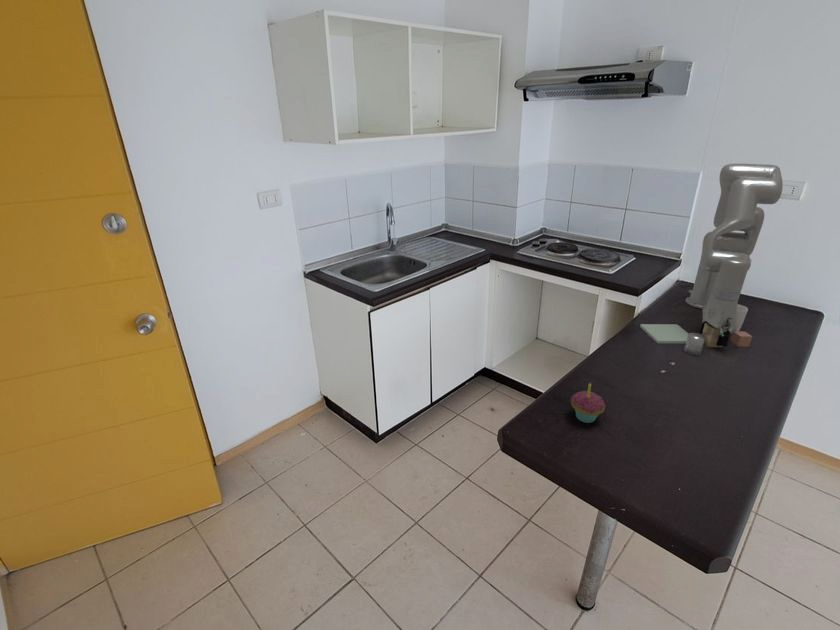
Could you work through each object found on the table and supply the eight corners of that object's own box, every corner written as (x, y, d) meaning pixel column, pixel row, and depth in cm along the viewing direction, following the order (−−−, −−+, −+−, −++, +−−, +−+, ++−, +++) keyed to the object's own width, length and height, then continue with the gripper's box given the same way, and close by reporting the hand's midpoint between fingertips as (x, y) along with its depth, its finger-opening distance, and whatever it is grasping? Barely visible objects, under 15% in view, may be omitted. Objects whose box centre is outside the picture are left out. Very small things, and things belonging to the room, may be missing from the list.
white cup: (717, 334, 163) (724, 309, 159) (713, 325, 170) (720, 301, 166) (742, 337, 161) (750, 312, 157) (737, 329, 167) (745, 304, 163)
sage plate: (639, 326, 169) (640, 324, 169) (676, 326, 169) (677, 324, 169) (657, 343, 156) (658, 340, 156) (697, 343, 156) (697, 341, 156)
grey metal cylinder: (681, 348, 153) (685, 332, 151) (695, 348, 153) (699, 332, 151) (689, 355, 149) (693, 339, 146) (703, 355, 149) (708, 339, 146)
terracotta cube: (730, 341, 158) (733, 331, 156) (741, 341, 158) (744, 331, 156) (737, 346, 154) (740, 336, 153) (748, 346, 154) (752, 336, 153)
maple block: (700, 340, 159) (705, 322, 156) (714, 340, 159) (719, 322, 156) (708, 347, 154) (713, 329, 151) (722, 347, 154) (728, 329, 151)
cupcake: (598, 431, 112) (606, 391, 107) (564, 420, 116) (570, 381, 111) (605, 414, 119) (613, 375, 114) (573, 404, 123) (579, 366, 118)
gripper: (700, 285, 157) (688, 328, 164) (731, 303, 141) (716, 350, 148) (721, 285, 157) (708, 328, 163) (754, 303, 141) (739, 351, 148)
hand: (712, 339), depth 156 cm, fingers open, 9 cm apart
